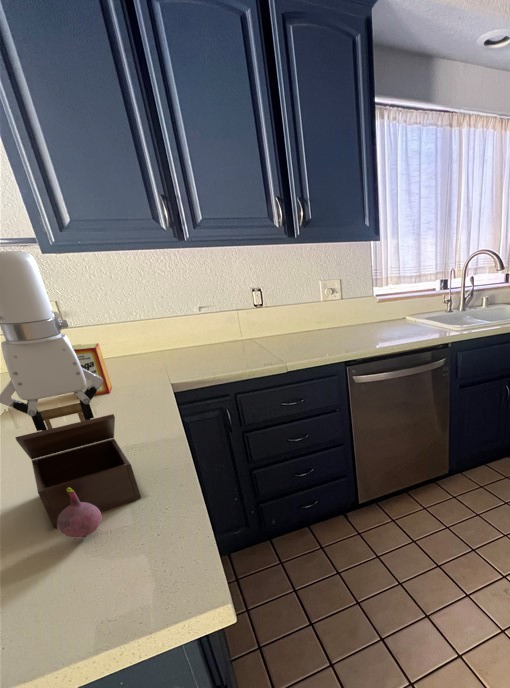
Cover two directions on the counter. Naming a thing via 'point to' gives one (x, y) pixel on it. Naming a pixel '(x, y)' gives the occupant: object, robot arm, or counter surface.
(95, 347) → the baking soda box
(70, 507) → the vegetable
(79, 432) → the lid
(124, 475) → the chest
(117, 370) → the counter surface
